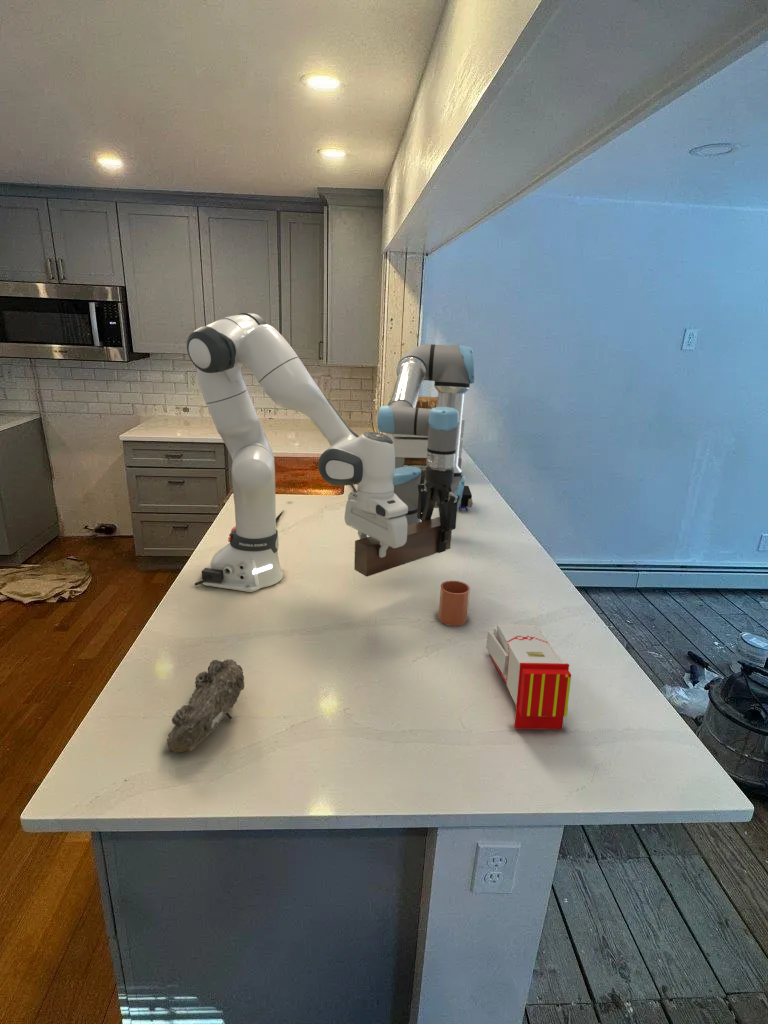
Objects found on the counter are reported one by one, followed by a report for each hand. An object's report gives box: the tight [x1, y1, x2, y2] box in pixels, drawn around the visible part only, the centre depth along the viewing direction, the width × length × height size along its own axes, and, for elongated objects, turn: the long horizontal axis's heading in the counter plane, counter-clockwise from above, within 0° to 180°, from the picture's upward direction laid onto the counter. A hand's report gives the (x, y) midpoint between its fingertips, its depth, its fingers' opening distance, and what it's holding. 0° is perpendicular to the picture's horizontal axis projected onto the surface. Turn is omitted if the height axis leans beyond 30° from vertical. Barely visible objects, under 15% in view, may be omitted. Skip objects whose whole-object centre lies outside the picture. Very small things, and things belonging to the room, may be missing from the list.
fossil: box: [166, 658, 245, 754], centre depth 106 cm, size 22×10×15 cm
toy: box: [485, 623, 572, 730], centre depth 120 cm, size 12×13×30 cm
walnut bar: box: [353, 516, 453, 578], centre depth 149 cm, size 5×30×8 cm, turn 131°
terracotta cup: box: [437, 580, 471, 627], centre depth 145 cm, size 7×7×9 cm
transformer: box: [385, 396, 465, 470], centre depth 268 cm, size 34×33×41 cm
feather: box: [276, 509, 284, 524], centre depth 213 cm, size 2×28×2 cm
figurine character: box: [457, 485, 473, 512], centre depth 229 cm, size 7×8×15 cm
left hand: (373, 552), depth 142 cm, fingers closed on walnut bar, 5 cm apart
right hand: (433, 547), depth 157 cm, fingers closed on walnut bar, 5 cm apart
